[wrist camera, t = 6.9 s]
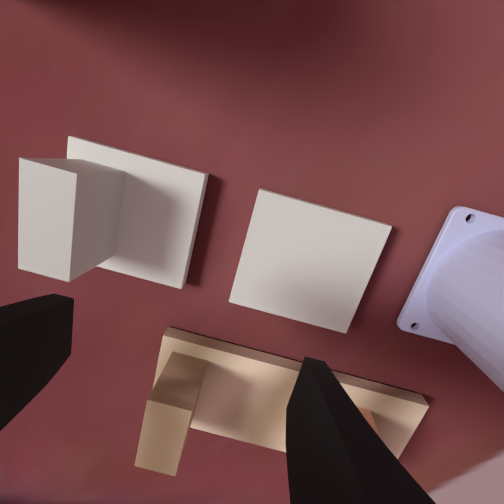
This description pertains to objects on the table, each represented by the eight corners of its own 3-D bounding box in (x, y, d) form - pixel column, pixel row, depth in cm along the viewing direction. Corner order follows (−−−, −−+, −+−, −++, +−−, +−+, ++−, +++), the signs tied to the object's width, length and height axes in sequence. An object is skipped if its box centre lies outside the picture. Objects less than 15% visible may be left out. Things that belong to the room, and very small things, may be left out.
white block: (385, 223, 16) (432, 247, 12) (342, 324, 18) (367, 380, 14) (80, 137, 16) (-1, 126, 11) (71, 251, 18) (1, 283, 13)
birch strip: (421, 394, 20) (470, 468, 15) (381, 464, 22) (412, 549, 17) (168, 326, 19) (135, 380, 14) (152, 404, 21) (119, 474, 17)
